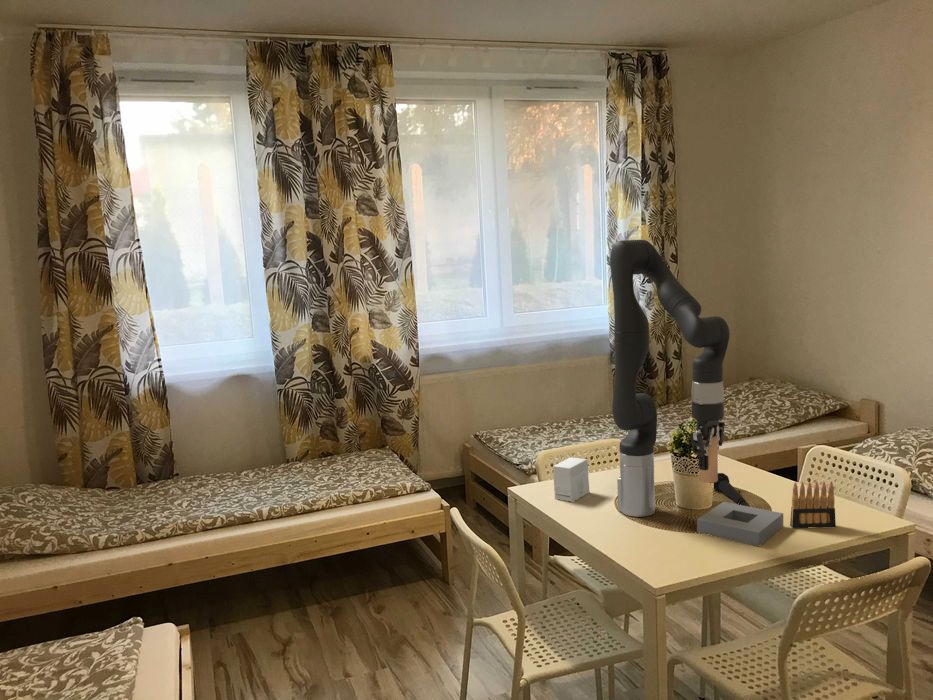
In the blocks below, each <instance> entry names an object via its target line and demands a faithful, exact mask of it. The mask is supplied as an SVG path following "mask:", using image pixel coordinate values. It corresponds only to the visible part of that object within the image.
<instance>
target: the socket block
mask: <svg viewBox="0 0 933 700" xmlns="http://www.w3.org/2000/svg"><path fill="white" fill-rule="evenodd" d="M783 527H784V513H783V512H778V511H773V510H768V509H764V508H763V509H762V508H757V507H753V506H749V505H748V506H743V505H738V504H737V503H733V502H731V503H730V502H726V501H723V502H721V503H720V504H718V505H716V506H715V507H713V508H712V509H711V510H709V511H707V512H705V513H704V514H703V515H702V516H699V517H698V518H697V519H696V533H698V532H701V533H700V534H702V533H705V534H704V535H707V534H709V535H708V536H711V535H712V536H711V537H715V536H716V537H717V538H721V539H723V540H729V541H734V542H738V543H742V544H746V545H751V546H755V547H760V546H761V545H762V544H763V543H765V542H766V541H767V540H768V539H770V538H771V537H772V536H773V535H775V534H776V533H777V532H778V531H780V530H781V529H782V528H783Z"/></svg>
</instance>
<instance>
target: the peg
mask: <svg viewBox="0 0 933 700" xmlns="http://www.w3.org/2000/svg"><path fill="white" fill-rule="evenodd" d="M707 441H708V440H707ZM707 441H706V440H703V442H705V443H706V442H707ZM704 450H705V446H704ZM718 451H719V450H718V441H717V436H714V437H712V443H711V446H710V447H709V451H708V470H706V471H705V470H700V469H699V468H698V481H699V482H702V483H707V484H711V483H714V482H717V481H718V473H719V472H718V471H719V469H718V467H719V465H718V464H719V462H718V461H719V460H718V458H719V455H718Z"/></svg>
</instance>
